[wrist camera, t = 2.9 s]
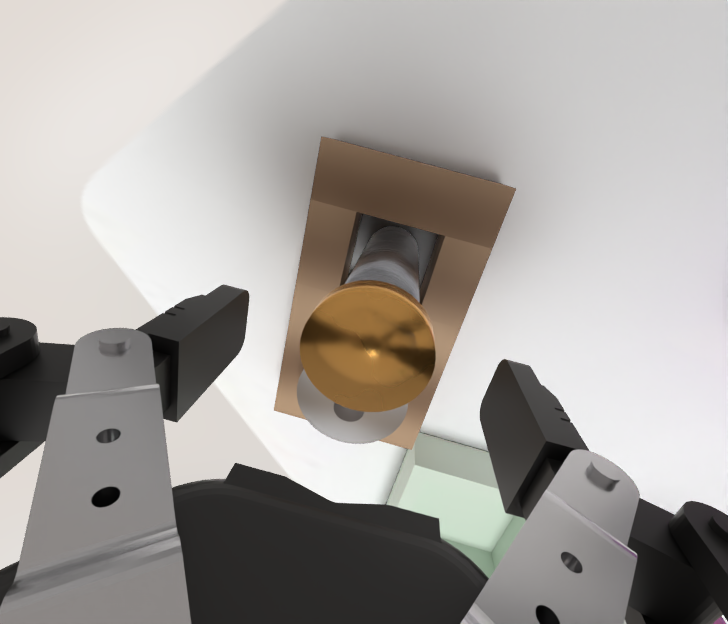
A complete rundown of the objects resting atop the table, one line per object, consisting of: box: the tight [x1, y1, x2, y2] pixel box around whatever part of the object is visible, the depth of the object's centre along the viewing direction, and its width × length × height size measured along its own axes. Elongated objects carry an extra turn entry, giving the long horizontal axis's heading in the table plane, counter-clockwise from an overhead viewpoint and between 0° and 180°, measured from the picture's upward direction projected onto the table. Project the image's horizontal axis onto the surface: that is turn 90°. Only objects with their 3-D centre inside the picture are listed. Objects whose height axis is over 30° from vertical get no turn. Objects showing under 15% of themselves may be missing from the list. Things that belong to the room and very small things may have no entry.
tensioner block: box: [274, 137, 516, 450], centre depth 20 cm, size 16×9×6 cm, turn 167°
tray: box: [386, 432, 526, 578], centre depth 26 cm, size 10×10×3 cm
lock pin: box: [300, 226, 436, 412], centre depth 16 cm, size 4×4×12 cm
